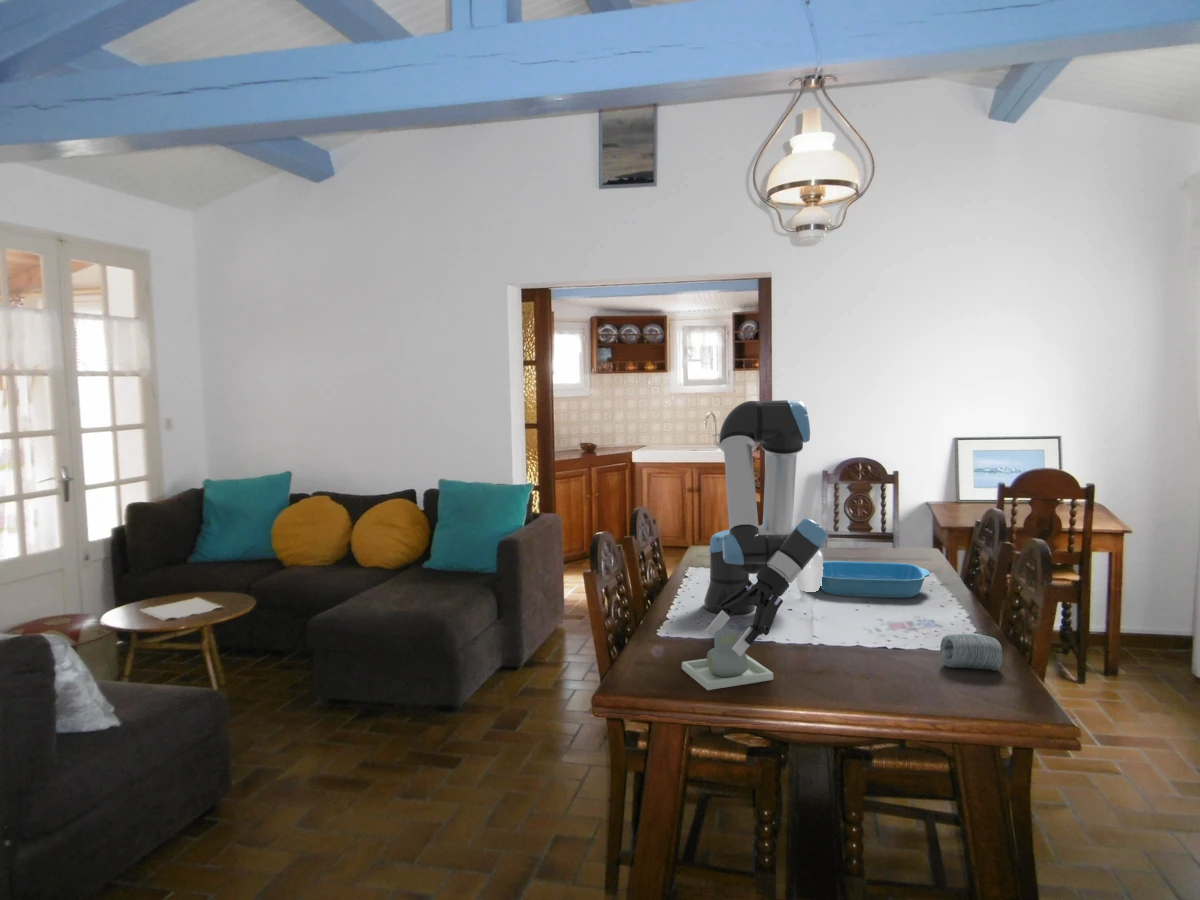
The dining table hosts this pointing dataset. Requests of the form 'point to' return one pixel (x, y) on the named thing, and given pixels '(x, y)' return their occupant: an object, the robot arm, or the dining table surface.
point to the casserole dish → (872, 579)
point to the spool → (971, 651)
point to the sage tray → (712, 681)
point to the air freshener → (726, 655)
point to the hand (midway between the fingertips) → (722, 643)
